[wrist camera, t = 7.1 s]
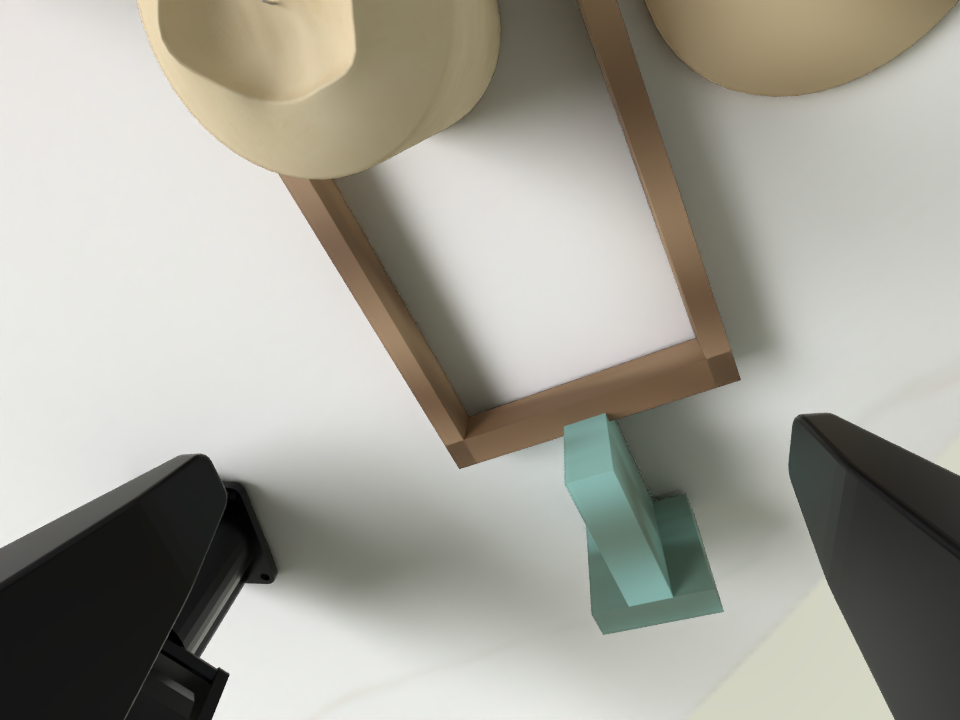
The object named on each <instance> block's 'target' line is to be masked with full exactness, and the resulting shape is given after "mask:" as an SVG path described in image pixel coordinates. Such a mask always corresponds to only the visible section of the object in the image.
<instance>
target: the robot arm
mask: <svg viewBox="0 0 960 720" xmlns="http://www.w3.org/2000/svg"><path fill="white" fill-rule="evenodd" d="M788 466H789V475H790V479H791V483H792V485H793V488H794V491H795V494H796V497H797V499H798V502H799V505H800V508H801V511H802V514H803V516H804V519H805V522H806V525H807V528H808V530H809V533H810V536H811V539H812V542H813V544H814V547H815V550H816V553H817V556H818V558H819V561H820V564H821V567H822V569H823V572H824V575H825V577H826V580H827V582H828V585H829V587H830V589H831V591H832V593H833V595H834V598H835V600H836V602H837V604H838V606H839V608H840V610H841V612H842V614H843V616H844V618H845V620H846V622H847V624H848V626H849V628H850V630H851V632H852V634H853V636H854V638H855V640H856V642H857V644H858V646H859V648H860V650H861V652H862V654H863V656H864V659H865V660H866V663H867V665H868V667H869V668H870V671H871V673H872V675H873V677H874V678H875V681H876V683H877V685H878V687H879V689H880V691H881V693H882V695H883V697H884V699H885V701H886V703H887V705H888V707H889V709H890V711H891V713H892V715H893V717H894V719H895V720H960V476H959V475H957V474H955V473H953V472H951V471H949V470H947V469H944V468H942V467H940V466H938V465H936V464H934V463H932V462H930V461H928V460H926V459H924V458H922V457H920V456H918V455H916V454H914V453H912V452H910V451H908V450H906V449H904V448H902V447H900V446H897V445H895V444H893V443H891V442H889V441H887V440H885V439H883V438H881V437H879V436H877V435H875V434H873V433H871V432H869V431H867V430H865V429H863V428H861V427H859V426H857V425H854V424H852V423H850V422H848V421H846V420H844V419H842V418H840V417H838V416H836V415H834V414H831V413H814V414H801V415H798V416H797V417H796V418H795V419H794V422H793V425H792V434H791V444H790V453H789V464H788ZM234 493H235V494H234ZM277 574H278V572H277V569H276V566H275V564H274V561H273V559H272V556H271V554H270V551H269V549H268V546H267V544H266V541H265V539H264V536H263V534H262V531H261V528H260V526H259V523H258V521H257V518H256V516H255V513H254V511H253V508H252V506H251V503H250V501H249V498H248V496H247V493H246V491H245V489H244V487H243V486H242V485H240V484H238V483H236V482H222V481H221V479H220V477H219V475H218V473H217V471H216V469H215V467H214V465H213V463H212V461H211V460H210V458H209V457H208V456H206V455H204V454H186V455H180V456H177V457H175V458H173V459H171V460H169V461H167V462H166V463H164V464H162V465H160V466H158V467H156V468H154V469H152V470H150V471H148V472H146V473H144V474H143V475H141V476H139V477H137V478H135V479H133V480H131V481H129V482H127V483H125V484H123V485H121V486H119V487H118V488H116V489H114V490H112V491H110V492H108V493H106V494H104V495H102V496H100V497H98V498H96V499H94V500H93V501H91V502H89V503H87V504H85V505H83V506H81V507H79V508H77V509H75V510H73V511H71V512H69V513H68V514H66V515H64V516H62V517H60V518H58V519H56V520H54V521H52V522H50V523H48V524H46V525H44V526H43V527H41V528H39V529H37V530H35V531H33V532H31V533H29V534H27V535H25V536H23V537H21V538H20V539H18V540H16V541H14V542H12V543H10V544H8V545H6V546H4V547H2V548H0V720H212V717H213V715H214V712H215V710H216V707H217V705H218V702H219V700H220V697H221V695H222V692H223V690H224V687H225V685H226V682H227V680H228V677H229V673H227V672H226V671H224V670H223V669H221V668H220V667H219V668H217V669H216V668H215V667H213V666H212V665H210V664H209V663H207V662H205V661H204V660H202V659H201V658H200V656H201V655H202V653H203V651H204V650H205V648H206V646H207V645H208V643H209V641H210V640H211V638H212V636H213V635H214V633H215V632H216V630H217V628H218V627H219V625H220V623H221V622H222V620H223V618H224V617H225V615H226V613H227V612H228V610H229V609H230V607H231V605H232V604H233V602H234V600H235V599H236V597H237V595H238V594H239V592H240V590H241V589H242V587H243V586H244V584H245V583H257V584H270V583H272V582H274V580H275V578H276V576H277Z"/></svg>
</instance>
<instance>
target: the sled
mask: <svg viewBox="0 0 960 720" xmlns="http://www.w3.org/2000/svg"><path fill="white" fill-rule="evenodd" d="M577 3H578V6H579V9H580V11H581V14H582V17H583V20H584V23H585V26H586V28H587V31H588V34H589V37H590V40H591V43H592V45H593V48H594V51H595V54H596V57H597V60H598V62H599V65H600V68H601V71H602V74H603V77H604V79H605V82H606V85H607V88H608V91H609V94H610V96H611V99H612V102H613V105H614V108H615V111H616V113H617V116H618V119H619V122H620V125H621V128H622V130H623V133H624V136H625V139H626V142H627V145H628V147H629V150H630V153H631V156H632V159H633V162H634V164H635V167H636V170H637V173H638V176H639V179H640V181H641V184H642V187H643V190H644V193H645V196H646V198H647V201H648V204H649V207H650V210H651V213H652V215H653V218H654V221H655V224H656V227H657V230H658V232H659V235H660V238H661V241H662V244H663V247H664V249H665V252H666V255H667V258H668V261H669V264H670V266H671V269H672V272H673V275H674V278H675V281H676V283H677V286H678V289H679V292H680V295H681V298H682V300H683V303H684V306H685V309H686V312H687V315H688V317H689V320H690V323H691V326H692V329H693V332H694V334H695V337H696V338H695V339H692V340H689V341H686V342H683V343H681V344H678V345H675V346H672V347H669V348H666V349H663V350H660V351H658V352H655V353H652V354H649V355H646V356H643V357H640V358H637V359H635V360H632V361H629V362H626V363H623V364H620V365H617V366H614V367H612V368H609V369H606V370H603V371H600V372H597V373H594V374H591V375H589V376H586V377H583V378H580V379H577V380H574V381H571V382H568V383H566V384H563V385H560V386H557V387H554V388H551V389H548V390H545V391H543V392H540V393H537V394H534V395H531V396H528V397H525V398H522V399H520V400H517V401H514V402H511V403H508V404H505V405H502V406H499V407H497V408H494V409H491V410H488V411H485V412H482V413H479V414H476V415H474V416H471V417H469V415H468V414H467V412H466V410H465V408H464V407H463V405H462V403H461V402H460V400H459V398H458V396H457V395H456V393H455V391H454V389H453V388H452V386H451V384H450V382H449V381H448V379H447V377H446V376H445V374H444V372H443V370H442V369H441V367H440V365H439V363H438V362H437V360H436V358H435V356H434V355H433V353H432V351H431V349H430V348H429V346H428V344H427V343H426V341H425V339H424V337H423V336H422V334H421V332H420V330H419V329H418V327H417V325H416V323H415V322H414V320H413V318H412V317H411V315H410V313H409V311H408V310H407V308H406V306H405V304H404V303H403V301H402V299H401V297H400V296H399V294H398V292H397V290H396V289H395V287H394V285H393V284H392V282H391V280H390V278H389V277H388V275H387V273H386V271H385V270H384V268H383V266H382V264H381V263H380V261H379V259H378V258H377V256H376V254H375V252H374V251H373V249H372V247H371V245H370V244H369V242H368V240H367V238H366V237H365V235H364V233H363V231H362V230H361V228H360V226H359V225H358V223H357V221H356V219H355V218H354V216H353V214H352V212H351V211H350V209H349V207H348V205H347V204H346V202H345V200H344V199H343V197H342V195H341V193H340V192H339V190H338V188H337V186H336V185H335V183H334V181H333V179H324V180H322V179H302V178H296V177H290V176H286V175H282V174H279V173H278V174H279V176H280V177H281V179H282V181H283V182H284V184H285V185H286V187H287V189H288V190H289V192H290V194H291V195H292V197H293V198H294V200H295V202H296V203H297V205H298V207H299V208H300V210H301V212H302V213H303V215H304V216H305V218H306V220H307V221H308V223H309V225H310V226H311V228H312V229H313V231H314V233H315V234H316V236H317V238H318V239H319V241H320V242H321V244H322V246H323V247H324V249H325V251H326V252H327V254H328V256H329V257H330V259H331V260H332V262H333V264H334V265H335V267H336V269H337V270H338V272H339V273H340V275H341V277H342V278H343V280H344V282H345V283H346V285H347V287H348V288H349V290H350V291H351V293H352V295H353V296H354V298H355V300H356V301H357V303H358V304H359V306H360V308H361V309H362V311H363V313H364V314H365V316H366V318H367V319H368V321H369V322H370V324H371V326H372V327H373V329H374V331H375V332H376V334H377V335H378V337H379V339H380V340H381V342H382V344H383V345H384V347H385V348H386V350H387V352H388V353H389V355H390V357H391V358H392V360H393V362H394V363H395V365H396V366H397V368H398V370H399V371H400V373H401V375H402V376H403V378H404V379H405V381H406V383H407V384H408V386H409V388H410V389H411V391H412V393H413V394H414V396H415V397H416V399H417V401H418V402H419V404H420V406H421V407H422V409H423V410H424V412H425V414H426V415H427V417H428V419H429V420H430V422H431V424H432V425H433V427H434V428H435V430H436V432H437V433H438V435H439V437H440V438H441V440H442V441H443V443H444V445H445V446H446V448H447V450H448V451H449V453H450V455H451V456H452V458H453V459H454V461H455V463H456V464H457V466H458V468H459V469H461V468H464V467H468V466H471V465H474V464H477V463H480V462H483V461H486V460H490V459H493V458H496V457H499V456H502V455H505V454H509V453H512V452H515V451H518V450H521V449H524V448H528V447H531V446H534V445H537V444H540V443H543V442H547V441H550V440H553V439H556V438H559V437H562V436H564V467H565V486H566V488H567V489H568V491H569V493H570V495H571V497H572V499H573V501H574V503H575V505H576V507H577V509H578V510H579V512H580V514H581V516H582V518H583V520H584V522H585V524H586V530H587V547H588V563H589V579H590V595H591V611H592V616H593V617H594V619H595V621H596V623H597V625H598V626H599V628H600V630H601V632H602V633H603V635H605V634H610V633H616V632H621V631H626V630H631V629H636V628H642V627H647V626H652V625H657V624H662V623H668V622H673V621H678V620H683V619H689V618H694V617H699V616H704V615H709V614H715V613H720V612H724V610H723V607H722V604H721V601H720V597H719V594H718V591H717V588H716V584H715V581H714V578H713V574H712V571H711V568H710V565H709V561H708V558H707V555H706V552H705V548H704V545H703V542H702V538H701V535H700V532H699V529H698V525H697V522H696V519H695V516H694V513H693V510H692V508H691V505H690V503H689V501H688V498H687V496H686V493H685V494H681V495H677V496H674V497H670V498H666V499H662V500H658V501H655V502H652V500H651V498H650V495H649V493H648V491H647V489H646V486H645V484H644V482H643V480H642V477H641V475H640V473H639V471H638V469H637V466H636V464H635V462H634V460H633V457H632V455H631V453H630V451H629V448H628V446H627V444H626V442H625V440H624V437H623V435H622V433H621V431H620V428H619V426H618V424H617V422H616V419H619V418H622V417H626V416H629V415H632V414H635V413H638V412H641V411H645V410H648V409H651V408H654V407H657V406H660V405H663V404H667V403H670V402H673V401H676V400H679V399H682V398H686V397H689V396H692V395H695V394H698V393H701V392H705V391H708V390H711V389H714V388H717V387H720V386H724V385H727V384H730V383H733V382H736V381H739V380H741V379H740V376H739V373H738V370H737V367H736V364H735V361H734V358H733V355H732V352H731V349H730V345H729V342H728V339H727V336H726V333H725V330H724V327H723V324H722V321H721V318H720V315H719V312H718V309H717V306H716V303H715V300H714V297H713V293H712V290H711V287H710V284H709V281H708V278H707V275H706V272H705V269H704V266H703V263H702V260H701V257H700V254H699V251H698V248H697V245H696V242H695V238H694V235H693V232H692V229H691V226H690V223H689V220H688V217H687V214H686V211H685V208H684V205H683V202H682V199H681V196H680V193H679V190H678V186H677V183H676V180H675V177H674V174H673V171H672V168H671V165H670V162H669V159H668V156H667V153H666V150H665V147H664V144H663V141H662V138H661V134H660V131H659V128H658V125H657V122H656V119H655V116H654V113H653V110H652V107H651V104H650V101H649V98H648V95H647V92H646V89H645V86H644V82H643V79H642V76H641V73H640V70H639V67H638V64H637V61H636V58H635V55H634V52H633V49H632V46H631V43H630V40H629V37H628V34H627V31H626V27H625V24H624V21H623V18H622V15H621V12H620V9H619V6H618V3H617V0H577Z"/></svg>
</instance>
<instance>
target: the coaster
mask: <svg viewBox="0 0 960 720" xmlns="http://www.w3.org/2000/svg"><path fill="white" fill-rule="evenodd" d="M958 1H959V0H645V2H646V5H647V7H648V10H649V12H650V14H651V17H652V19H653V21H654V24H655V25H656V27H657V29H658V30H659V32H660V33H661V35H662V37H663V38H664V40H665V42H666V43H667V44H668V45H669V47H670V48H671V49H672V50H673V51H674V53H675V54H676V55H677V56H678V57H679V58H680V59H681V60H682V61H683V62H684V63H685V64H687V65H688V66H689V67H690V68H691V69H692V70H693V71H695V72H696V73H698V74H700V75H701V76H703V77H704V78H706V79H708V80H709V81H711V82H713V83H716V84H718V85H720V86H723V87H725V88H728V89H731V90H735V91H739V92H743V93H747V94H753V95H763V96H773V97H778V96H798V95H804V94H809V93H815V92H820V91H823V90H827V89H830V88H833V87H837V86H840V85H843V84H845V83H848V82H850V81H852V80H855V79H857V78H859V77H862V76H864V75H866V74H868V73H870V72H871V71H873V70H875V69H877V68H878V67H880V66H882V65H884V64H886V63H887V62H889V61H891V60H892V59H893V58H895V57H896V56H898V55H899V54H901V53H902V52H903V51H905V50H906V49H908V48H909V47H911V46H912V45H913V44H914V43H915V42H917V41H918V40H919V39H920V38H921V37H922V36H924V35H925V34H926V33H927V32H928V31H930V30H931V29H932V28H933V27H934V26H935V25H936V24H937V23H938V22H939V21H940V20H941V19H942V18H943V17H944V16H945V15H946V14H947V13H948V12H949V11H950V10H951V9H952V8H953V7H954V6H955V5H956V3H957V2H958Z"/></svg>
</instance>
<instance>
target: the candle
mask: <svg viewBox="0 0 960 720" xmlns="http://www.w3.org/2000/svg"><path fill="white" fill-rule="evenodd" d="M137 3H138V7H139V11H140V15H141V19H142V23H143V26H144V29H145V31H146V34H147V37H148V40H149V43H150V46H151V48H152V50H153V52H154V54H155V57H156V59H157V61H158V63H159V65H160V67H161V69H162V71H163V73H164V74H165V76H166V78H167V80H168V81H169V83H170V85H171V86H172V88H173V90H174V91H175V92H176V94H177V95H178V97H179V98H180V99H181V101H182V102H183V104H184V105H185V106H186V108H187V109H188V110H189V111H190V112H191V114H192V115H193V116H194V117H195V118H196V119H197V120H198V122H199V123H200V124H201V125H202V126H203V127H204V128H205V129H206V130H207V131H209V132H210V133H211V134H212V135H213V136H214V137H215V138H216V139H217V140H218V141H220V142H221V143H222V144H224V145H225V146H226V147H228V148H229V149H230V150H232V151H233V152H234V153H236V154H238V155H239V156H241V157H243V158H244V159H246V160H248V161H250V162H251V163H253V164H256V165H258V166H260V167H262V168H265V169H267V170H269V171H272V172H276V173H279V174H282V175H286V176H290V177H296V178H302V179H322V180H324V179H333V178H341V177H345V176H349V175H352V174H356V173H360V172H362V171H364V170H366V169H369V168H371V167H373V166H375V165H377V164H379V163H381V162H383V161H385V160H387V159H389V158H391V157H393V156H395V155H397V154H399V153H400V152H402V151H404V150H406V149H408V148H410V147H412V146H414V145H416V144H417V143H419V142H421V141H423V140H425V139H427V138H429V137H431V136H433V135H435V134H436V133H438V132H440V131H442V130H444V129H446V128H448V127H449V126H451V125H452V124H454V123H456V122H457V121H459V120H460V119H461V118H463V117H464V116H465V115H466V114H467V113H468V112H470V111H471V109H472V108H473V107H474V106H475V105H476V104H477V103H478V101H479V100H480V99H481V97H482V96H483V94H484V93H485V91H486V89H487V87H488V85H489V83H490V81H491V79H492V76H493V74H494V71H495V68H496V64H497V60H498V56H499V49H500V39H501V25H500V15H499V9H498V4H497V0H137Z"/></svg>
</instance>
